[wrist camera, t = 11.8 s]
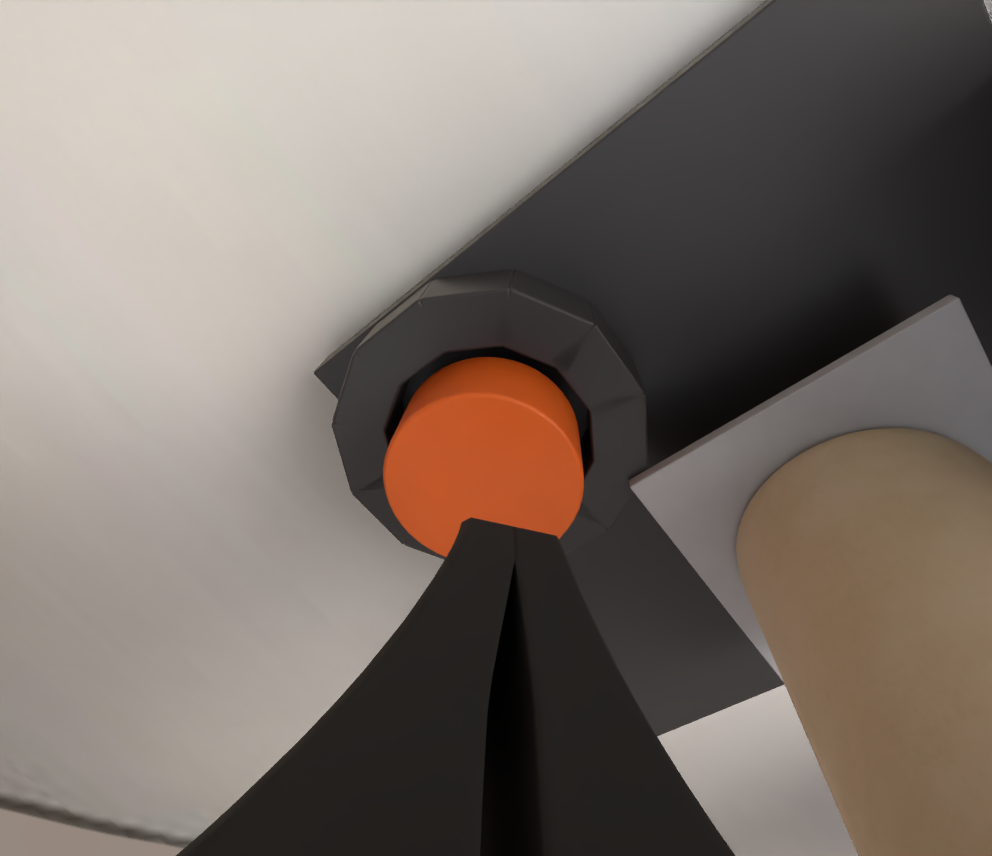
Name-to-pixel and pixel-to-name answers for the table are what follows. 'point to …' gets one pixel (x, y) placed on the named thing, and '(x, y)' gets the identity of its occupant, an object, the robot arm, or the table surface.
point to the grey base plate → (707, 288)
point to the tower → (819, 437)
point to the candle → (884, 630)
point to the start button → (484, 453)
